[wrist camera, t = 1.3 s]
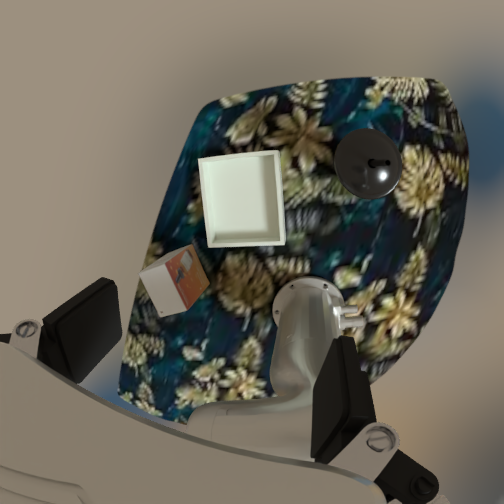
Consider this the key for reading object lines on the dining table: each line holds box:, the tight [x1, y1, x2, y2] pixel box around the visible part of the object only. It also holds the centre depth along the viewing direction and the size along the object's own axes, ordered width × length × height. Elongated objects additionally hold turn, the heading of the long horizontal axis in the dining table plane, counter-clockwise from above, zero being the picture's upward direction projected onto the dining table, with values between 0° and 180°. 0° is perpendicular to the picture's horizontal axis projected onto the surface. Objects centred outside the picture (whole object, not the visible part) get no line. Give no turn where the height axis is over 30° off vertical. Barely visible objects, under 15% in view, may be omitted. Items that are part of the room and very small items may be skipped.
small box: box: [138, 244, 210, 317], centre depth 43 cm, size 8×6×10 cm
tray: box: [198, 150, 286, 248], centre depth 41 cm, size 12×14×3 cm
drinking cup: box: [333, 128, 402, 199], centre depth 29 cm, size 8×8×20 cm
